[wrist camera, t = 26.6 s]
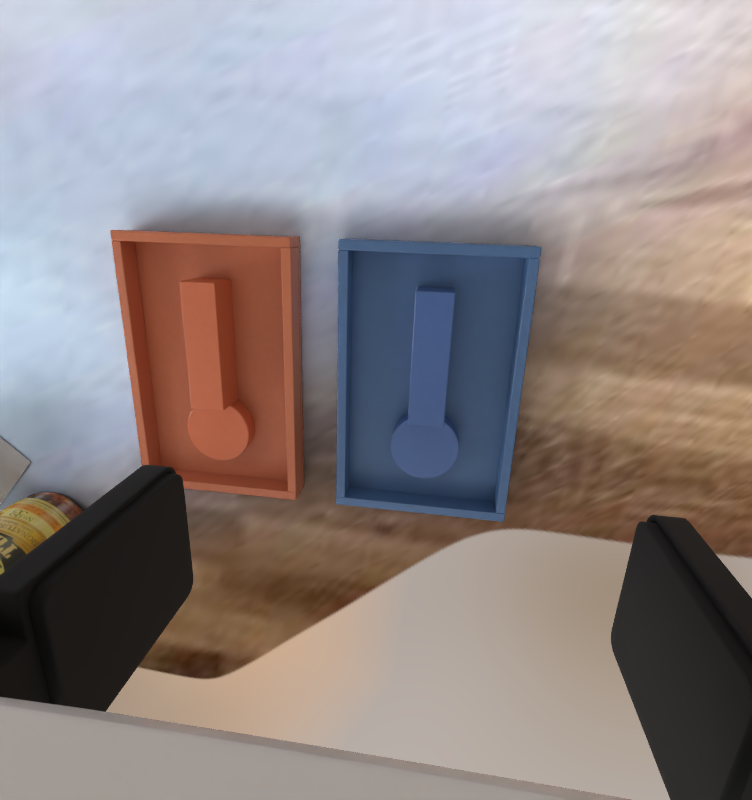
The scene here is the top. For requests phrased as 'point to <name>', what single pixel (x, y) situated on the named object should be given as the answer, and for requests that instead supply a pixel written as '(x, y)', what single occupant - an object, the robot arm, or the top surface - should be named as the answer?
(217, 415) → the terracotta spoon
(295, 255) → the terracotta tray
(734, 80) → the top surface
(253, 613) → the top surface
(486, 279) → the blue tray
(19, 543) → the sauce bottle
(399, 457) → the blue spoon
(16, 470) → the stacked layers on plate
